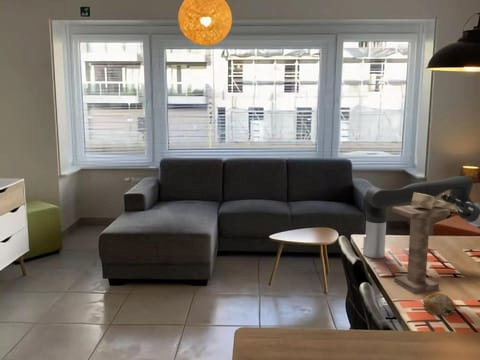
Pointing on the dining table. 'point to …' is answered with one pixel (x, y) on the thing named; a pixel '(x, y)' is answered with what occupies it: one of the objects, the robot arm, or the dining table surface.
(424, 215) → the stand
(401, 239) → the dining table surface
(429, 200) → the mallet
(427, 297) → the bread roll
